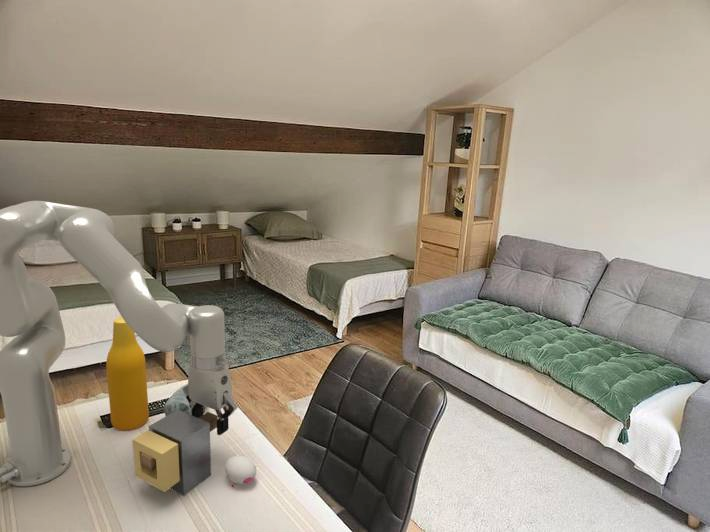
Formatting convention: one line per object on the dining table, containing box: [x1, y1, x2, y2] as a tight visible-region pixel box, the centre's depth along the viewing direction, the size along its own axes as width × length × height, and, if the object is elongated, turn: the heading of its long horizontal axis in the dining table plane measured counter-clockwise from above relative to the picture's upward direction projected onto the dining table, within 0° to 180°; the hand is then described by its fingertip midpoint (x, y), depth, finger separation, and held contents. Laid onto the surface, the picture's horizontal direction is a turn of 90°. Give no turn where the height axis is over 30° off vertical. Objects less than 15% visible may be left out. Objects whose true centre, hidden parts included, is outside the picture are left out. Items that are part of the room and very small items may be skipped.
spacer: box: [131, 429, 180, 493], centre depth 103 cm, size 4×9×9 cm, turn 61°
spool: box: [163, 383, 205, 417], centre depth 133 cm, size 14×10×10 cm
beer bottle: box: [105, 316, 150, 432], centre depth 126 cm, size 9×9×29 cm
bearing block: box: [148, 410, 212, 497], centre depth 109 cm, size 8×10×14 cm
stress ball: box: [224, 455, 257, 488], centre depth 111 cm, size 8×8×7 cm
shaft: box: [141, 411, 219, 471], centre depth 109 cm, size 19×3×3 cm, turn 151°
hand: (210, 426), depth 116 cm, fingers open, 7 cm apart
